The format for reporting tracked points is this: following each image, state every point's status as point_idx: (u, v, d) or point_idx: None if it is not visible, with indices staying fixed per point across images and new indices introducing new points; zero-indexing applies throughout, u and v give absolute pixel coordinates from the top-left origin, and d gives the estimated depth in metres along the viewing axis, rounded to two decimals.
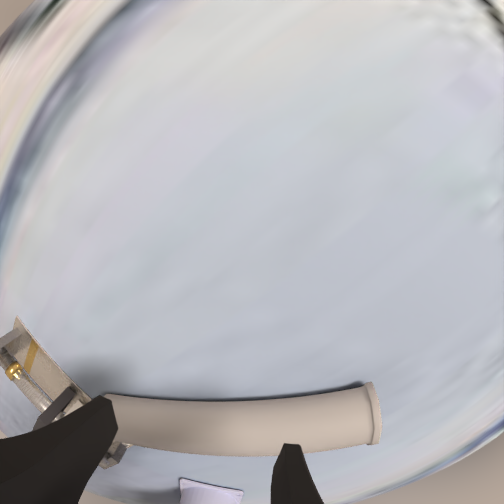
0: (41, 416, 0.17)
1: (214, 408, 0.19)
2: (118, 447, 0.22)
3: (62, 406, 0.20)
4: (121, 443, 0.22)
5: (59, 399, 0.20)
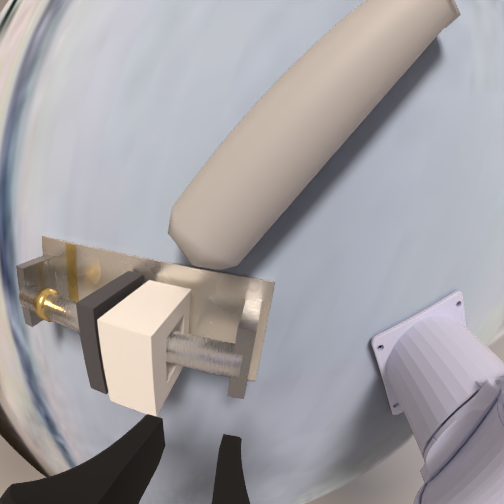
0: (82, 300, 0.12)
1: None
2: (243, 313, 0.16)
3: (122, 286, 0.15)
4: (246, 308, 0.17)
5: (116, 281, 0.16)
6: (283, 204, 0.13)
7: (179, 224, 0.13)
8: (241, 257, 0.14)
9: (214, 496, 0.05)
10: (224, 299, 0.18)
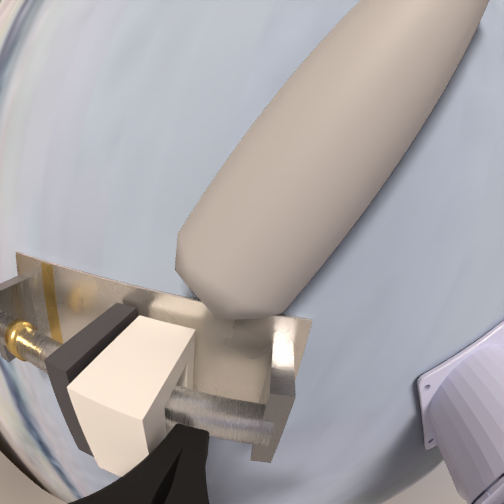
0: (52, 355, 0.08)
1: None
2: (274, 366, 0.11)
3: (107, 329, 0.11)
4: (275, 357, 0.12)
5: (99, 321, 0.11)
6: (349, 220, 0.08)
7: (193, 262, 0.08)
8: (288, 301, 0.09)
9: (172, 486, 0.06)
10: (244, 342, 0.13)
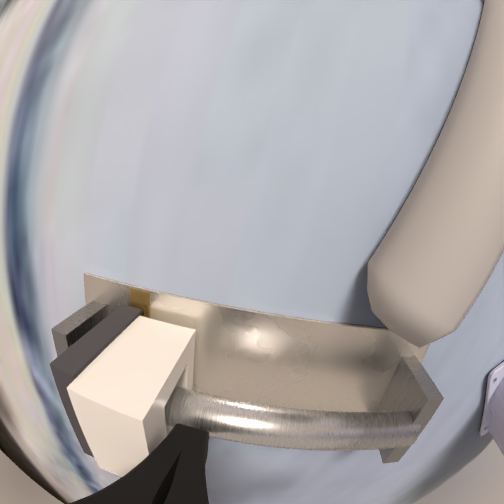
0: (58, 359, 0.08)
1: (472, 70, 0.07)
2: (416, 377, 0.11)
3: (113, 332, 0.11)
4: (412, 368, 0.11)
5: (105, 323, 0.11)
6: (501, 253, 0.08)
7: (422, 305, 0.08)
8: (461, 321, 0.09)
9: (172, 486, 0.06)
10: (378, 358, 0.13)
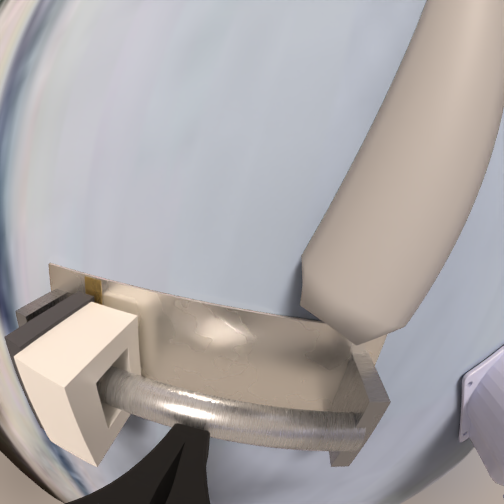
0: (11, 333, 0.08)
1: (414, 41, 0.08)
2: (362, 376, 0.11)
3: (63, 314, 0.11)
4: (360, 367, 0.12)
5: (58, 306, 0.11)
6: (455, 237, 0.08)
7: (344, 299, 0.08)
8: (411, 315, 0.09)
9: (173, 486, 0.06)
10: (325, 354, 0.13)
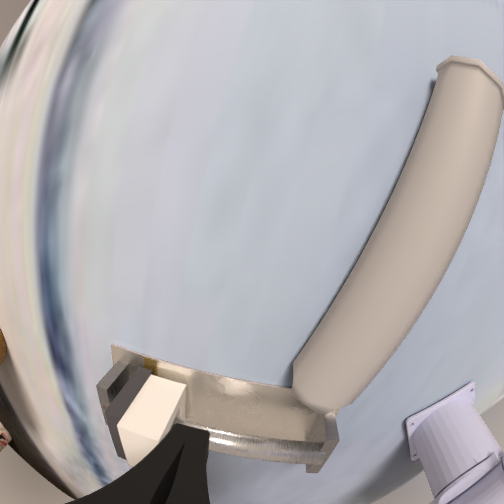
0: (108, 409, 0.14)
1: (386, 216, 0.14)
2: (325, 423, 0.17)
3: (137, 388, 0.17)
4: (325, 416, 0.18)
5: (131, 382, 0.18)
6: (385, 362, 0.15)
7: (311, 400, 0.15)
8: (355, 398, 0.15)
9: (173, 486, 0.06)
10: (304, 406, 0.20)
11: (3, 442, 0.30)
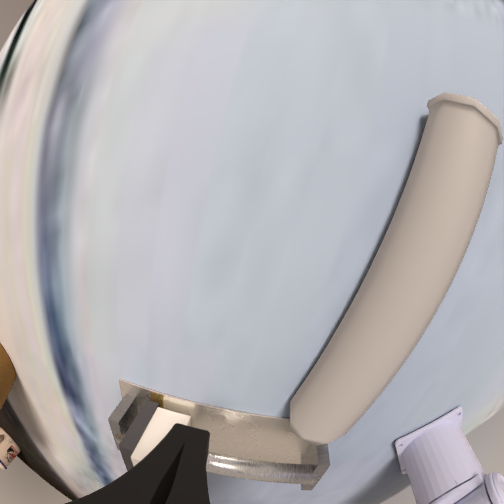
0: (122, 442, 0.15)
1: (371, 276, 0.15)
2: (318, 449, 0.18)
3: (146, 422, 0.18)
4: None
5: (140, 416, 0.18)
6: (372, 402, 0.15)
7: (306, 437, 0.15)
8: (347, 431, 0.16)
9: (173, 486, 0.06)
10: None
11: (12, 455, 0.31)
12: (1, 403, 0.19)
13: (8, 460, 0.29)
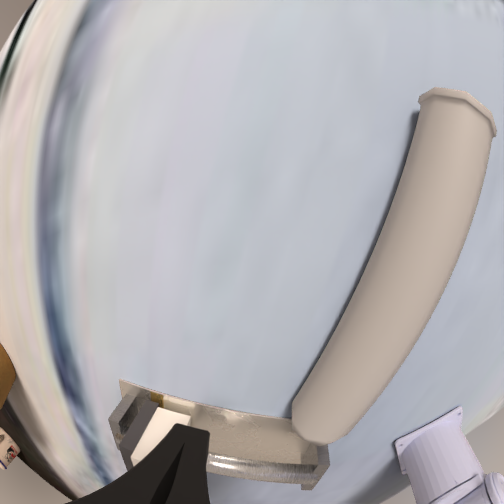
0: (122, 442, 0.15)
1: (367, 276, 0.15)
2: (318, 449, 0.18)
3: (146, 422, 0.18)
4: None
5: (140, 416, 0.18)
6: (373, 401, 0.15)
7: (308, 438, 0.15)
8: None
9: (173, 486, 0.06)
10: None
11: (12, 455, 0.31)
12: (1, 403, 0.19)
13: (8, 460, 0.29)
